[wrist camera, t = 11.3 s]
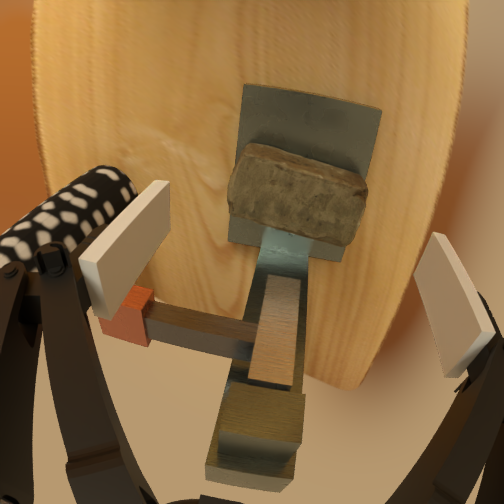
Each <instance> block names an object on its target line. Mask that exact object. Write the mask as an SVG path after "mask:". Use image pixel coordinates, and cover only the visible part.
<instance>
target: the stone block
mask: <svg viewBox="0 0 504 504" xmlns="http://www.w3.org/2000/svg"><path fill="white" fill-rule="evenodd" d="M367 195H368V189H367V184H366V183H365V180H364V179H363V178H362V176H361V175H359V174H356V173H353V172H351V171H348V170H345V169H341V168H338V167H335V166H332V165H329V164H326V163H323V162H319V161H316V160H313V159H307V158H304V157H302V156H300V155H296V154H292V153H289V152H286V151H283V150H281V149H279V148H275V147H272V146H268V145H264V144H257V143H249V144H248V145H246V147H245V148H244V149H243V150H242V151H241V154H240V157H239V159H238V161H237V163H236V165H235V167H234V169H233V173H232V175H231V177H230V181H229V185H228V192H227V201H228V205H229V213H230V214H231V215H232V216H234V217H240V218H245V219H249V220H252V221H254V222H255V223H257V224H259V225H263V226H267V227H272V228H275V229H278V230H282V231H285V232H288V233H292V234H295V235H299V236H302V237H306V238H309V239H313V240H317V241H322V242H326V243H329V244H332V245H335V246H339V247H345V246H347V245H348V244H350V243H351V242H352V240H353V239H354V236H355V233H356V231H357V229H358V227H359V226H360V221H361V218H362V216H363V214H364V210H365V207H366V198H367Z"/></svg>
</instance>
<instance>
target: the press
mask: <svg viewBox="0 0 504 504" xmlns="http://www.w3.org/2000/svg"><path fill="white" fill-rule="evenodd" d="M381 114H382V110H380V109H379V108H375V107H371V106H367V105H364V104H360V103H356V102H351V101H347V100H343V99H339V98H334V97H329V96H325V95H320V94H314V93H309V92H304V91H298V90H292V89H286V88H280V87H273V86H266V85H258V84H250V83H246V84H244V87H243V96H242V104H241V113H240V122H239V131H238V141H237V150H236V160H235V165H236V163H237V161H238V159H239V157H240V154H241V151H242V150H243V149H244V148H245V147H246V145H248V144H249V143H257V144H264V145H268V146H272V147H275V148H279V149H281V150H283V151H286V152H289V153H292V154H296V155H300V156H302V157H304V158H307V159H313V160H316V161H319V162H323V163H326V164H329V165H332V166H335V167H338V168H341V169H345V170H348V171H351V172H353V173H356V174H359V175H361V176H362V178H363V179H364V180H365V179H366V176H367V172H368V168H369V164H370V160H371V156H372V152H373V148H374V144H375V140H376V136H377V132H378V127H379V123H380V118H381ZM228 241H229V242H234V243H240V244H245V245H251V246H256V247H261V249H260V253H259V257H258V261H257V265H256V269H255V273H254V277H253V281H252V284H251V288H250V292H249V296H248V300H247V304H246V308H245V312H244V316H243V320H242V321H247V322H252V323H257V324H259V320H260V315H261V310H262V305H263V300H264V295H265V289H266V284H267V279H268V274H270V275H275V276H281V277H286V278H292V279H297V280H300V295H299V310H298V324H297V337H296V349H295V361H294V372H293V383H292V387H291V390H290V392H287V391H281V390H275V389H269V388H263V387H257V386H252V385H247V379H248V374H249V369H250V364H251V362H247V361H242V360H237V359H232V363H231V367H230V371H229V375H228V379H227V382H226V387H225V390H224V394H223V398H222V402H221V406H220V409H219V413H218V417H217V421H216V425H215V429H214V433H213V436H212V440H211V444H210V448H209V452H208V455H207V459H206V463H205V476H206V480H208V481H213V482H217V483H222V484H227V485H232V486H238V487H244V488H250V489H256V490H263V491H271V492H279V493H280V492H281V491H282V490H283V489H284V488H285V487H286V486H287V485H288V484H289V483H290V482H291V481H292V480H293V479H294V470H295V461H296V452H297V449H298V448H299V446H300V445H301V443H302V433H303V422H304V409H305V394H302V385H303V371H304V355H305V337H306V316H307V289H308V256H310V257H315V258H320V259H326V260H331V261H336V262H341V260H342V257H343V254H344V250H345V247H346V246H345V247H339V246H335V245H332V244H329V243H326V242H322V241H317V240H313V239H309V238H306V237H302V236H299V235H295V234H292V233H288V232H285V231H282V230H278V229H275V228H272V227H267V226H263V225H259V224H257V223H255V222H254V221H252V220H249V219H245V218H240V217H234V216H232V215H231V214H230V221H229V232H228Z"/></svg>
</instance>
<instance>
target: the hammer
mask: <svg viewBox="0 0 504 504" xmlns="http://www.w3.org/2000/svg"><path fill="white" fill-rule="evenodd" d="M299 295H300V280H297V279H292V278H286V277H281V276H275V275H270V274H268V279H267V284H266V289H265V295H264V300H263V305H262V310H261V315H260V320H259V324H257V323H252V322H247V321H242V320H237V319H232V318H227V317H222V316H218V315H213V314H208V313H204V312H199V311H195V310H190V309H186V308H182V307H177V306H173V305H169V304H165V303H160V302H156V301H155V300H154V291H153V290H152V289H148V288H144V287H140V286H136V285H133V286H132V288H131V290H130V291H129V293H128V294H127V296H126V297H125V299H124V301H123V302H122V304H121V305H120V307H119V309H118V310H117V312H116V313H115V315H114V317H113V318H112V320H111V321H110V320H107V319H103V318H100V317H98V319H99V322H100V326H101V329H102V332H103V334H106V335H109V336H112V337H115V338H119V339H121V340H125V341H128V342H131V343H134V344H138V345H141V346H145V347H148V346H149V344H150V342H151V340H152V339H153V340H157V341H161V342H164V343H169V344H172V345H176V346H180V347H184V348H188V349H192V350H197V351H201V352H205V353H209V354H214V355H218V356H223V357H227V358H232V359H237V360H242V361H247V362H251V364H250V369H249V374H248V379H247V385H252V386H257V387H263V388H269V389H275V390H281V391H287V392H290V390H291V387H292V383H293V372H294V361H295V349H296V337H297V324H298V310H299Z"/></svg>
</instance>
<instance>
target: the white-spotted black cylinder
mask: <svg viewBox="0 0 504 504" xmlns="http://www.w3.org/2000/svg"><path fill="white" fill-rule="evenodd" d="M136 197H138V194H137V191H136V189H135V187H134V185H133V183H132V182H131V180H130V179H129V178H128V177H127V176H126V175H125V174H124V173H123V172H122V171H120V170H118V169H117V168H115V167H112V166H107V165H101V166H97V167H94V168H92V169H91V170H89V171H88V172H86V173H85V174H83V175H81V176H80V177H78V178H77V179H75V180H74V181H72V182H71V183H69V184H68V185H67V186H65V187H64V188H62V189H61V190H59V191H58V192H56V193H55V194H54V195H52V196H51V197H49V198H48V199H47V200H45V201H44V202H43V203H41V204H40V205H39V206H37V207H36V208H35V209H33V210H32V211H31V212H29V213H28V214H27V215H25V216H24V217H23V218H22V219H20V220H19V221H18V222H17V223H15V224H14V225H13V226H12V227H10V228H9V229H8V230H7V231H6V232H4V233H3V234H2V235H1V236H0V268H1V267H3V266H4V265H5V264H7V263H9V262H13V261H20V262H22V263H23V264H24V266H25V268H26V271H27V272H38V269H37V267H36V264H35V261H34V257H33V256H34V253H35V251H36V250H37V249H38V248H39V247H41V246H42V245H44V244H46V243H49V242H54V241H58V242H62V243H64V244H66V246H67V249H68V253H69V254H70V253H71V252H72V251H73V250H74V249H75V248H76V247H77V246H78V245H79V244H80V243H82V241H83V240H84V238H85V237H87V235H88V234H89V233H90V232H91V231H92V230H93V229H95V228H96V227H98V226H100V225H102V224H109V225H110V224H111V223H112V221H113V220H114V219H115V218H116V217H117V216H118V215H119V214H120V213H121V212H122V211H123V210H124V209H125V208H126V207H127V206H128V205H129V204H130V203H131V202H132V201H133V200H134V199H135V198H136Z"/></svg>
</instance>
